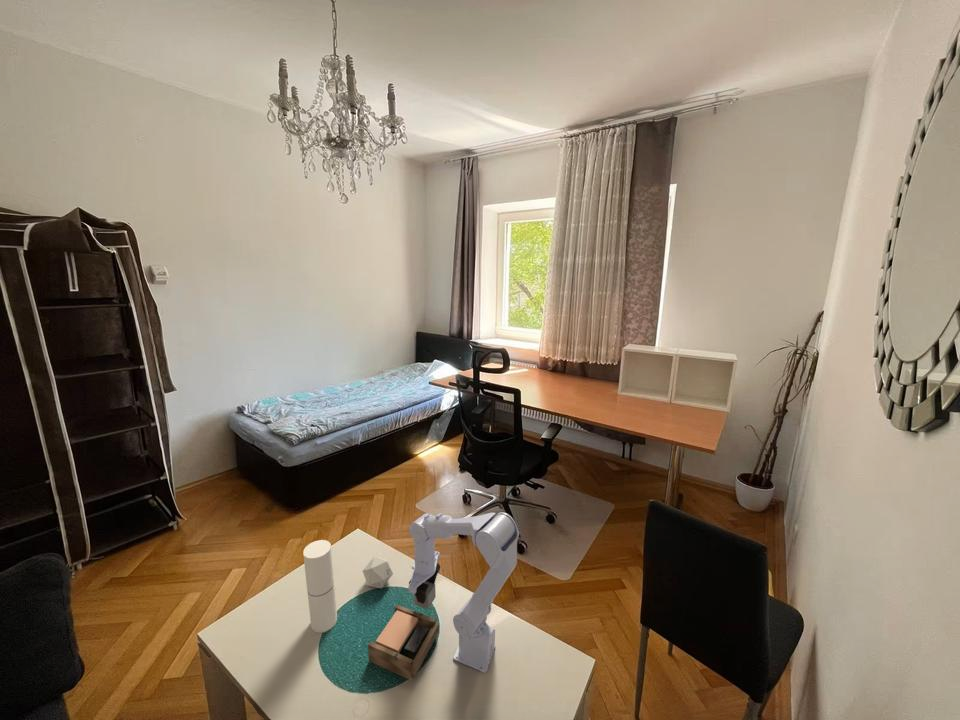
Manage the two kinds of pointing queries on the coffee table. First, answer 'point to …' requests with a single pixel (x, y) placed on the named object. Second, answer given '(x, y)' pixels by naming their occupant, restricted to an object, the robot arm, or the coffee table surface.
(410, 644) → the trapdoor
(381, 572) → the die
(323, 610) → the cylindrical container
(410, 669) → the frame
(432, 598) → the stone
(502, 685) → the coffee table surface
